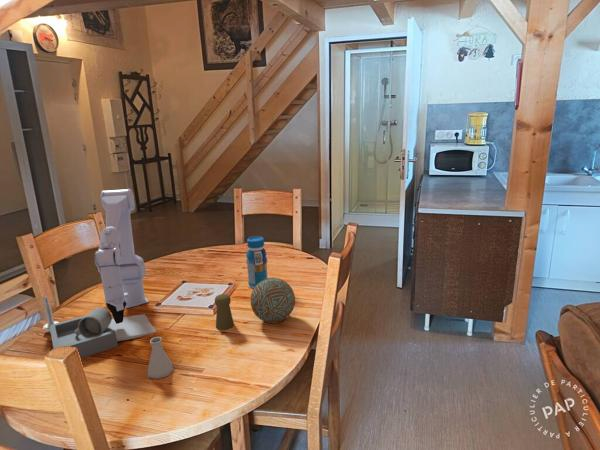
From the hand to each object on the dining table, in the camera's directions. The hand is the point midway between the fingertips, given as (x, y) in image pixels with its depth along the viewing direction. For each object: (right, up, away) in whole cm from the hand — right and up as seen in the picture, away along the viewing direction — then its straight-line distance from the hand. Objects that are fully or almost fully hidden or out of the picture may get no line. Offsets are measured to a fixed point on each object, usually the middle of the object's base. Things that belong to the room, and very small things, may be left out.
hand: (119, 322), depth 134 cm
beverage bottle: (+43, +7, +33) cm, 55 cm away
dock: (-4, -5, -1) cm, 7 cm away
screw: (-24, -4, +3) cm, 24 cm away
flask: (+21, -9, -21) cm, 31 cm away
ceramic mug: (-7, -3, -3) cm, 8 cm away
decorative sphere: (+51, -1, +5) cm, 51 cm away
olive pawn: (+34, -2, +2) cm, 35 cm away
